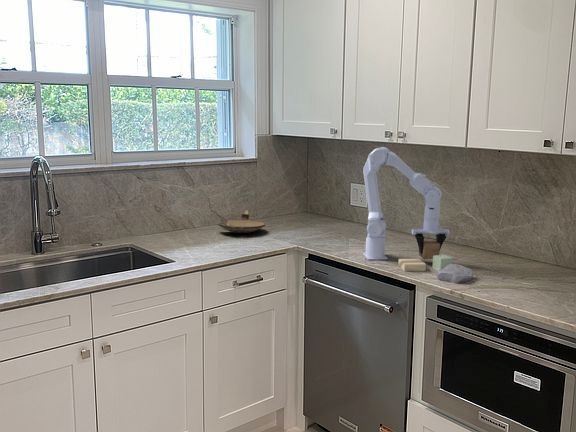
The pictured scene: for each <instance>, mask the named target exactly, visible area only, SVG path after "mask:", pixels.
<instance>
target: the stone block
mask: <svg viewBox="0 0 576 432" xmlns="http://www.w3.org/2000/svg"><path fill="white" fill-rule="evenodd" d="M473 277H474V271H473V270H472V269H471V268H470V267H466V266H464V265H462V264H458V263H452V264H449V265H447V266H446V267H445V268H444V269H442V270H441V269H439V271H437V279H438V281H443V282H449V283H453V284H459V283H464V282H467V281H471V280H472V279H473Z"/></svg>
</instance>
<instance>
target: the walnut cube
mask: <svg viewBox="0 0 576 432" xmlns="http://www.w3.org/2000/svg"><path fill="white" fill-rule="evenodd" d="M440 251H441V249H440V243H438V242H437V241H436V239H429V240H428V239H424V243H423V253H420V252H419V251H418V256H419V257H421V258H422V259H424V260H433V256H434V255H440V253H441V252H440Z"/></svg>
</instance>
